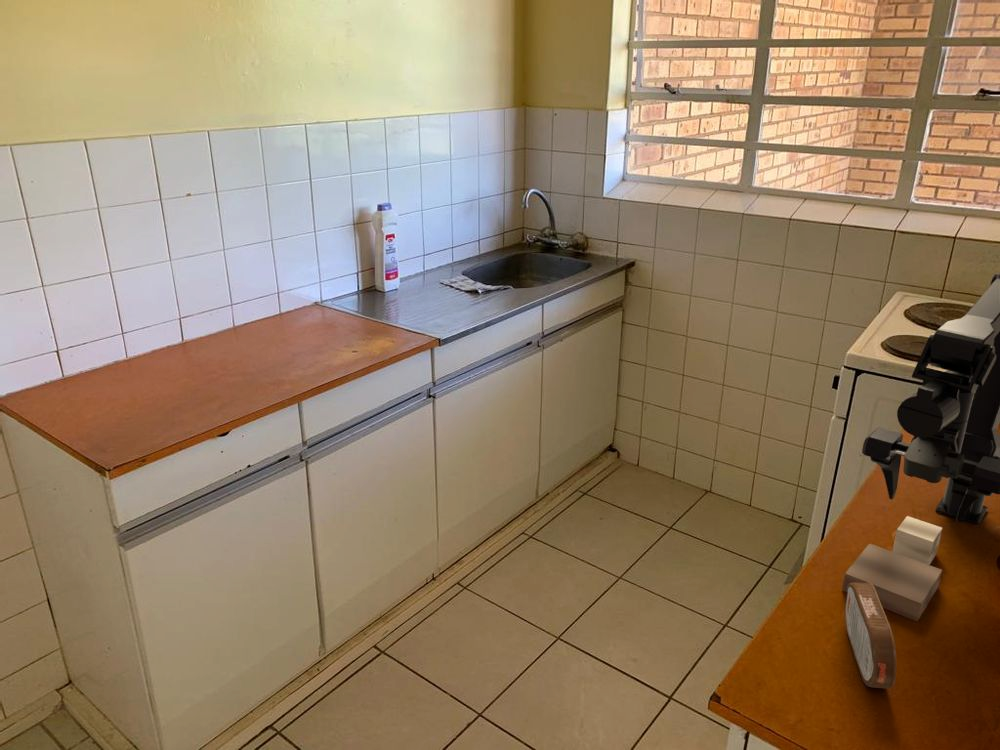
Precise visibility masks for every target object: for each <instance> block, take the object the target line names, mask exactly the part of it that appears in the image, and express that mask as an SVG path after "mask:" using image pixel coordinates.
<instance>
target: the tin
mask: <svg viewBox="0 0 1000 750" xmlns="http://www.w3.org/2000/svg"><path fill="white" fill-rule="evenodd" d="M845 599H846V600H845V605H844V618H845V626H846V632H847V636H848V640H849V644H850V646H851V648H852V649H851V650H852V652H853V656H854V658H855V661H856V664H857V668H858V672H859V674H860V677H861V679H862V681H863V683H864V684H865V685H866V686H867V687H870V688H876V689H877V688H878V689H887V690H892V689H893V688H894V686H895V683H896V679H897V651H896V644H895V639H894V634H893V631H892V630H893V629H892V628H891V625H890V622H889V620H888V618H887V615H886V612H885V611H884V608H883V607H882V605H881V602H880V600H879V597H878V595H877V592H876V590H875V587H874V586H873V584H872V583H870V582H868V583H849V584H848V586H847V592H846V598H845Z"/></svg>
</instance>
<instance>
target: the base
mask: <svg viewBox="0 0 1000 750" xmlns="http://www.w3.org/2000/svg"><path fill="white" fill-rule="evenodd" d="M942 573H943V569H941V568H938V567H935V566H932V565H931V564H930V565H927V564H925V563H922V562H919V561H917V560H914V559H911V558H908V557H906V556H903V555H900V554H897V553H895V552H892V550H889V549H886V548H883V547H882V546H881V547H880V546H878V545H875V544H872V543H869V544H868V545H867V546H866V547H865V548H864V550H863V551H862V552H861V553H860V554H859V555H858V557H857V558H856V560H855V561H854V562H853V563H852V564H851V566H850V567H849V568H848V569H847V571H846V572H845V573H844V578H843V583H842V589H841V591H842V592H844V593H847V586H848V584H849V583H868V582H870V583H872V584H873V586H874V587H875V590H876V592H877V595H878V597H879V600H880V602H881V605H882V607H883V609H885V610H888V611H890V612H893V613H895V614H897V615H900V616H903V617H905V618H907V619H910V620H912V621H915V622H918V621H919V619H920V618H921V616H922V614H923V613H924V612H925V610H926V608H927V607H928V606H929V603H930V601H931V600H932V598H933V596H934V595H935V593H936V592H937V591H938V588H939V586H940V581H941V577H942Z"/></svg>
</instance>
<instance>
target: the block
mask: <svg viewBox="0 0 1000 750" xmlns="http://www.w3.org/2000/svg"><path fill="white" fill-rule="evenodd" d="M942 531H943V527H941V526H938V525H935V524H932V523H929V522H926V521H923V520H920V519H918V518H914V517H912V516H909V515H906V516H905V518H904V520H903V521H902V522H901V523H900V525H899V526H898V528H896V532H895V537H894V543H893V547H892V550H891V551H892V552H895V553H897V554H900V555H903V556H906V557H908V558H911V559H914V560H917V561H919V562H922V563H925V564H927V565H930V566H931V563H932V562H933V560H934V559H935V557H936V556H937V552H938V549H939V545H940V540H941V536H942Z"/></svg>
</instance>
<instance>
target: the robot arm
mask: <svg viewBox="0 0 1000 750" xmlns="http://www.w3.org/2000/svg"><path fill="white" fill-rule="evenodd" d="M929 364H930V366H931V367H933V368H929V367H928V365H929ZM934 368H937V369H934ZM938 369H941V370H938ZM942 370H946V371H942ZM911 378H912V379H917V380H920V381H922V383H921V386H919V387H918V388H917V392H915V393H914V394H911V395H910V396H909V397H906V399H904V400H903V401H902V402H901V403H900V405H899V406H898V408H897V411H896V417H897V421H898V423H899V425H900V426H901V428H902V430H904V431H905V432H906V433H908V434H909V435H911V436H913V437H912V439H911V441H910V443H907V442H903V438H904V436H903V433H901V432H897V431H893V430H890V429H886V428H884V427H883V428H882V427H878V428H875V429H873V431H872V432H871V433H869V435H868V436H866V437H865V439H864V440H863V444H862V450H861V454H863V456H865V457H866V456H867V457H869V458H870V461H871V462H873V463H875V464H877V465H878V466H879V467H880V469H881V471H882V473H883V476H884V481H885V485H886V491H887V493H888V499H890V500H891V501H892V500H894V499H895V497H896V492H897V489H898V483H899V477H900V471H901V470H900V469H901V463H902V456H903V469H902V471H903V474H904V475H905V476H907V477H911V478H913V477H914V478H918V479H921V480H924V481H926V482H927V483H930V484H938V483H940V482H941V480H942V479H943V478H946V479H947V481H946V482H947V483H946V487H945V492H944V495H943V497H942V498H941V500H940V501H939V503H937V505H936V507H935V509H934V510H935V511H936V512H938V513H941V514H944V515H948V516H950V517H953V518H955V519H956V522H960V521H961V520H963V521H965V522H969V523H972V524H974V525H975V524H976V525H979V523H980V522H981V521H982V519H983V518H984V516H985V514H986V512H987V511H988V506H986V505H984V503H985V499H986V497H990V496H991V497H992V496H993V495H1000V432H999V425H1000V272H996V273H994V275H993V277H992V279H991V282H990V283H989V286H988V288H987V289H986V290H985V291H984V292H983V293H982V295H981V296H980V297H979V298H978V299H977V300H976V301H975V303H974V304H973V305H972V306H971V307H970V309H969V310H968V311H967V312H966V313H965V315H963V317H960V318H956V319H952V320H947V321H946V322H945V323H943V324H942V325H941V326H940V327H939V328H937V329H936V330H935V332H933V333H931V334H930V335H929V337H928V339H927V341H926V343H925V345H924V347H923V350H922V352H921V355H920V356H919V358H918V361H917V363H916V365H915V367H914V370H913V372H912V373H911Z"/></svg>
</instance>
